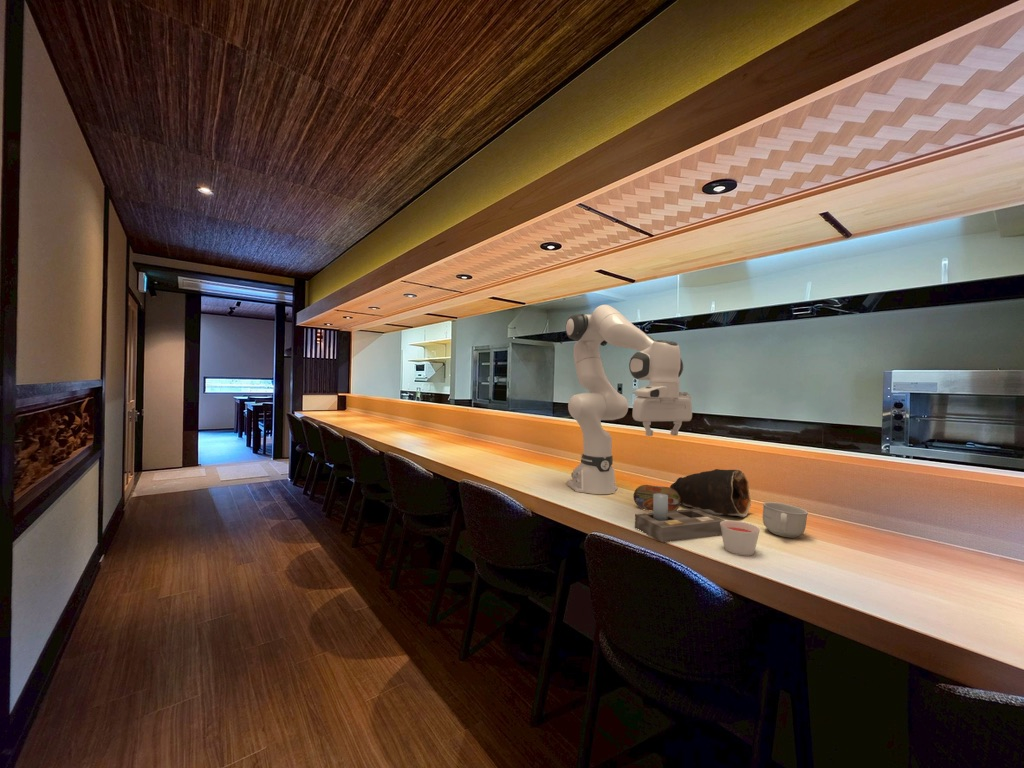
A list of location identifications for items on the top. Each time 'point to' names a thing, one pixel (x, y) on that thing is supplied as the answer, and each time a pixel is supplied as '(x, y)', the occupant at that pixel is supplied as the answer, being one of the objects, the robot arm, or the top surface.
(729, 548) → the candle
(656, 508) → the plug
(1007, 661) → the top surface
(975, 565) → the top surface
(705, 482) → the clay pot
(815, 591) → the top surface
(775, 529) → the teacup
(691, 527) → the socket block
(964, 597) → the top surface
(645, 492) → the tin
